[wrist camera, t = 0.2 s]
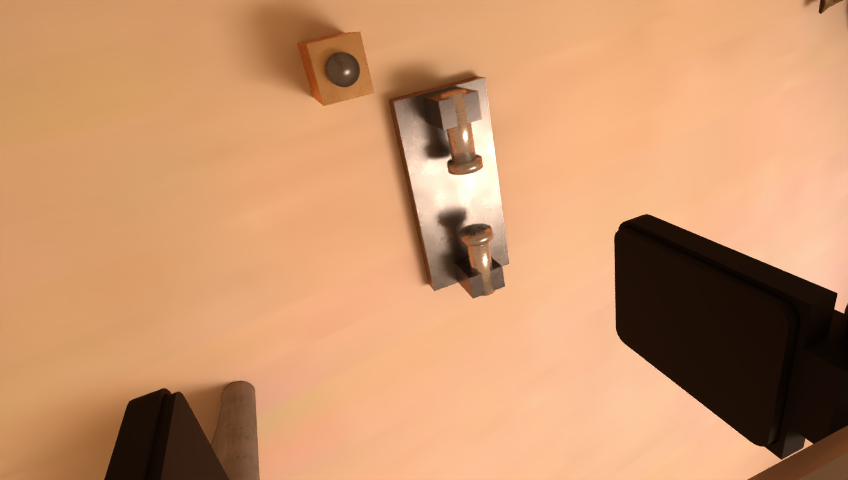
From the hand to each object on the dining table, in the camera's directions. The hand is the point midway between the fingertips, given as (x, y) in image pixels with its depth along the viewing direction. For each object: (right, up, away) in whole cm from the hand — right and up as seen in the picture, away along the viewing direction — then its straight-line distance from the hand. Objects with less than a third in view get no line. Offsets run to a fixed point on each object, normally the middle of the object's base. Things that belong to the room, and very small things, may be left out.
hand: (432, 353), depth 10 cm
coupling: (-8, +17, +31) cm, 36 cm away
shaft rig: (+3, +8, +39) cm, 40 cm away
